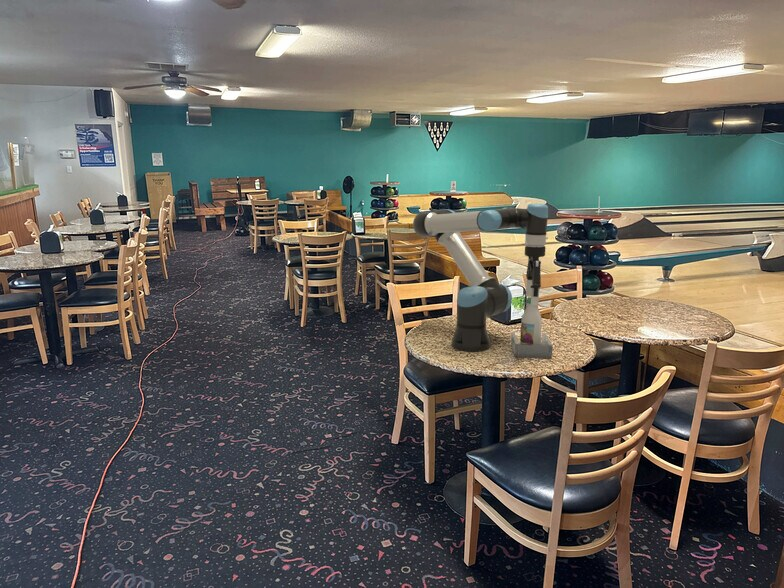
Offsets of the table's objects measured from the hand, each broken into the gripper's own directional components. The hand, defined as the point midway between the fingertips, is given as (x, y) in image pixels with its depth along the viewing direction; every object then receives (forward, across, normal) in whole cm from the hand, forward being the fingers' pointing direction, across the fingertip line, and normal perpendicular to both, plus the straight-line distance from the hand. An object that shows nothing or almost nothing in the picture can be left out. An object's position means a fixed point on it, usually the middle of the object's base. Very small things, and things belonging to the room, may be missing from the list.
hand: (531, 300), depth 202 cm
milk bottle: (+20, 0, 0) cm, 20 cm away
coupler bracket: (+20, -1, 0) cm, 20 cm away
